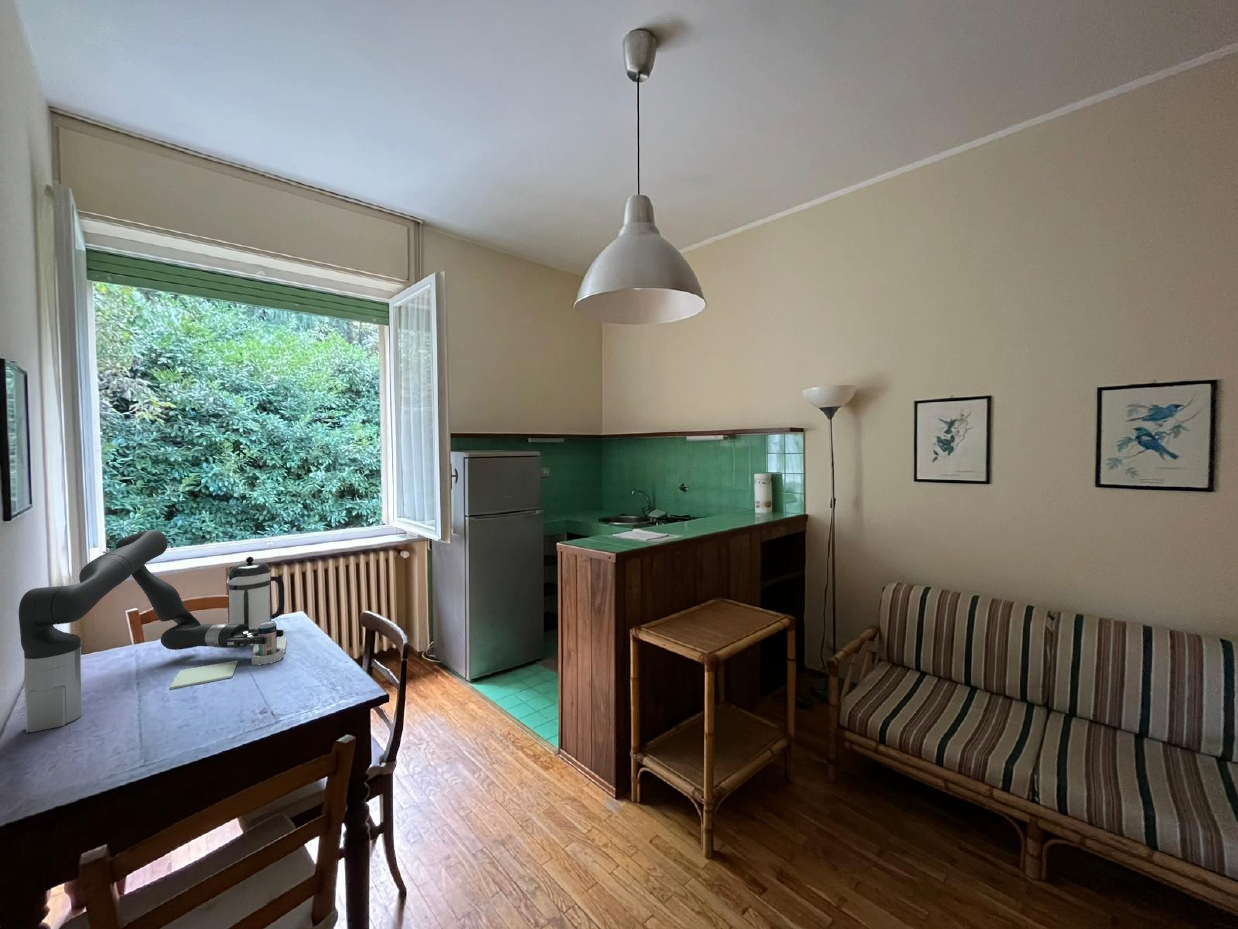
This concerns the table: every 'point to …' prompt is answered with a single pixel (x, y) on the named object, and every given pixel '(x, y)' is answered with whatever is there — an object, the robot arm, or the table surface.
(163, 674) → the table surface
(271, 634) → the beer can
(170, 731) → the table surface
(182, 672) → the sage mat
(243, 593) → the coffee press
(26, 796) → the table surface
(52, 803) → the table surface
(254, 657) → the charging dock
